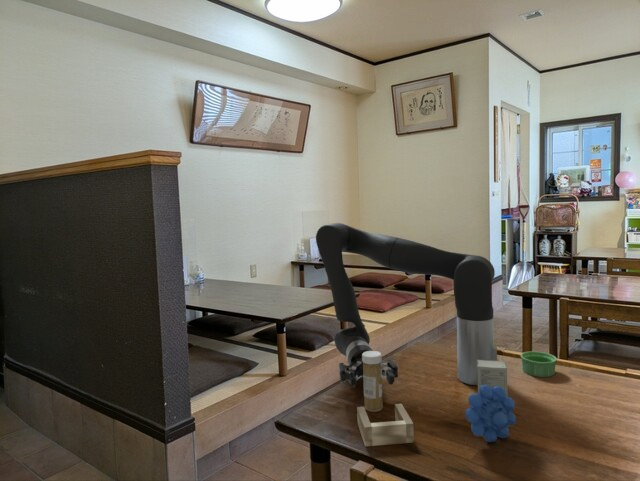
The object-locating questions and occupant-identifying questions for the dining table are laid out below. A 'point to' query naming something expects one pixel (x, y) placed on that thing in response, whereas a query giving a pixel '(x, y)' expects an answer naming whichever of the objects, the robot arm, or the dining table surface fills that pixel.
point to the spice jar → (372, 381)
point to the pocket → (386, 428)
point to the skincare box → (492, 374)
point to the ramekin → (538, 363)
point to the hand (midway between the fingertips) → (373, 381)
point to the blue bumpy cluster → (491, 413)
